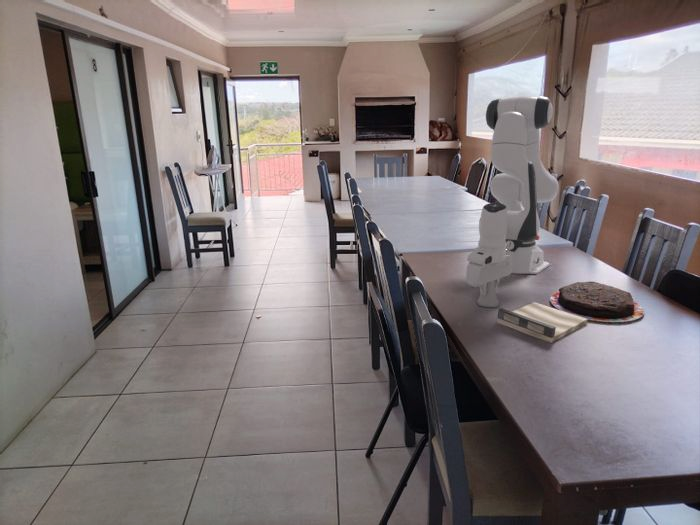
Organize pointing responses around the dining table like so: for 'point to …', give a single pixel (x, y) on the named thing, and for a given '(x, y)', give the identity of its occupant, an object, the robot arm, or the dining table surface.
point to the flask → (489, 297)
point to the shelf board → (541, 321)
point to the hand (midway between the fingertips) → (488, 292)
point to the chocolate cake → (597, 303)
